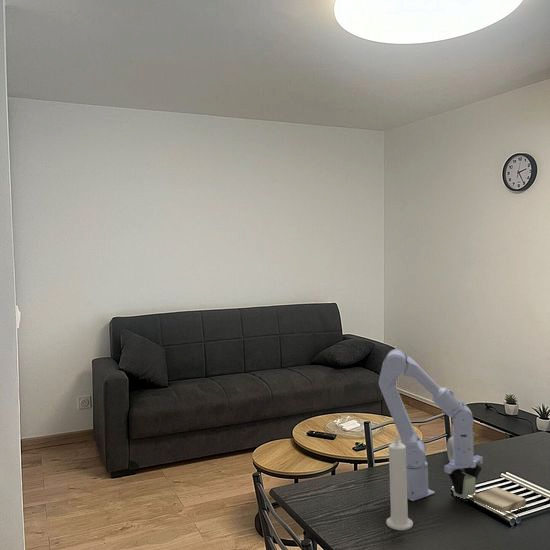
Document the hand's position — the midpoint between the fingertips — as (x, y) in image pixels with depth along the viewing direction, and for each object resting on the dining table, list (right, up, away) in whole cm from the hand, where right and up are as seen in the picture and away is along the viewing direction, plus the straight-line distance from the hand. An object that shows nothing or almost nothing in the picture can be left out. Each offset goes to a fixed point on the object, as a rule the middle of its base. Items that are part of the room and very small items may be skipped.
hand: (464, 491), depth 172 cm
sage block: (0, -2, 0) cm, 2 cm away
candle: (-23, -3, -16) cm, 28 cm away
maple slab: (+8, -2, -7) cm, 11 cm away
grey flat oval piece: (+5, 0, +24) cm, 24 cm away
